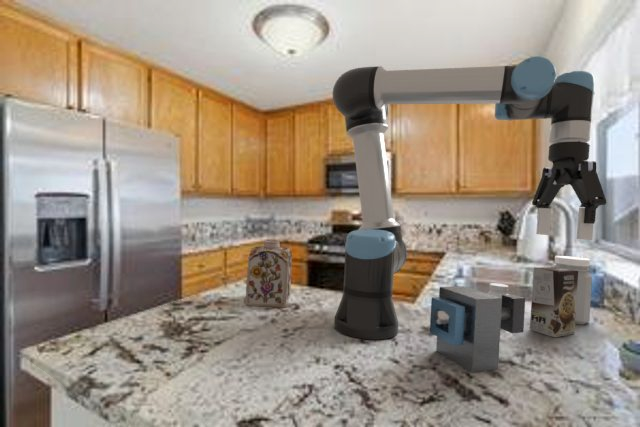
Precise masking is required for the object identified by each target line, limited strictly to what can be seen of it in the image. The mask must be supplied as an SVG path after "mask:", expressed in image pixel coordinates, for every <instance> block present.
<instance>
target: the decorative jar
mask: <svg viewBox="0 0 640 427" xmlns="http://www.w3.org/2000/svg"><path fill="white" fill-rule="evenodd" d="M280 244H281V243H280V241H278V240H265V241H263V245H262V246H254V247H252V248H251V250H250V252H249V254H248V257H247V259H248V260H247V273H246V286H245V305H246V306H251V307H252V306H253V307H264V308H265V307H268V308H269V307H270V308H286V307H287V305H288V303H289V300H290V297H291V287H292V286H291V281H292V262H293V261H292V260H293V255H292V250H291V249H290V248H288V247H285V246H281V245H280Z"/></svg>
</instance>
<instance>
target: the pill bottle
mask: <svg viewBox="0 0 640 427" xmlns="http://www.w3.org/2000/svg"><path fill="white" fill-rule="evenodd" d="M488 289H489V291H488V292H486V293H487V294H490V295H493V296H497V297H500V298H502V295H510V294H509V293H508V291H509V285H507V284H503V283H495V282H491V283H489V286H488Z"/></svg>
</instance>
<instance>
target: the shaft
mask: <svg viewBox="0 0 640 427" xmlns="http://www.w3.org/2000/svg"><path fill="white" fill-rule="evenodd" d="M525 309H526V297H522V296H519V295H517V294H516V295H515V294H509V295H502V308H501V326H500V330H503V331H506V332H508V333H511V334H520V333H521V334H522V333H524V330H525V329H524V328H525V327H524V326H525V313H526V312H525V311H526V310H525ZM434 319H435V322H436V323H437V324H449V313H446V312H444V311H436V312H435V313H434Z"/></svg>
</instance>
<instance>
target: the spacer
mask: <svg viewBox="0 0 640 427" xmlns="http://www.w3.org/2000/svg"><path fill="white" fill-rule="evenodd" d="M430 304H431V305H430V322H429V333H430V334H431V335H434V336H435V337H436V338H437V337H439V338H441V339H443V340H444V341H446V342H448V343H450V344H452V345H454V346H457V345H463V337H464V319H465V306H462V305H460V304H457V303H454V302H452V301H449V300H446V299H444V298H441V297H439V296H437V297H436V296H434V297H431V303H430ZM436 311H444V312H446V313H449V328H447V327H445V326H444V324H437V323H436V322H435V319H434V313H435V312H436Z"/></svg>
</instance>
